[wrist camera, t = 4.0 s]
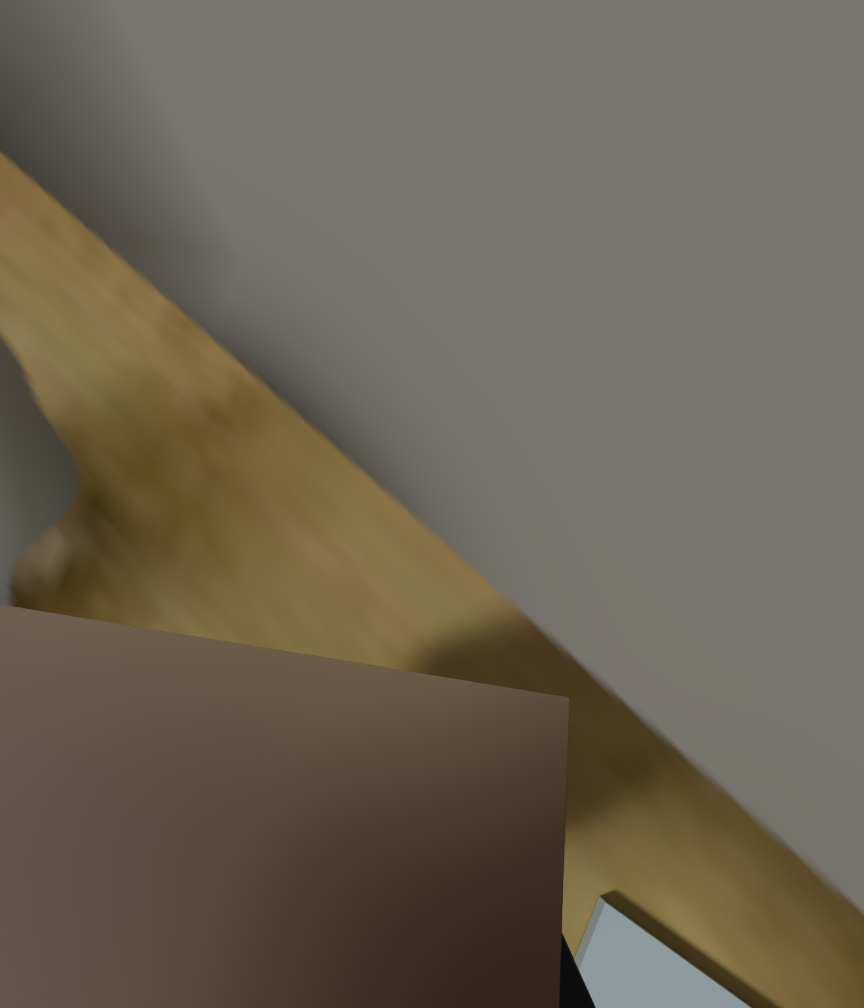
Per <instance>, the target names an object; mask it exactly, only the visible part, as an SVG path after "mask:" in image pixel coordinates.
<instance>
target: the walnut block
mask: <svg viewBox="0 0 864 1008" xmlns="http://www.w3.org/2000/svg"><path fill="white" fill-rule="evenodd" d="M569 700H570V697H564V696H558V695H551V694H545V693H539V692H533V691H527V690H521V689H515V688H509V687H502V686H496V685H490V684H484V683H478V682H472V681H466V680H459V679H453V678H447V677H441V676H435V675H429V674H423V673H416V672H410V671H404V670H398V669H392V668H386V667H380V666H374V665H367V664H361V663H355V662H349V661H343V660H337V659H331V658H324V657H318V656H312V655H306V654H300V653H294V652H288V651H282V650H275V649H269V648H263V647H257V646H251V645H245V644H239V643H232V642H226V641H220V640H214V639H208V638H202V637H196V636H189V635H183V634H177V633H171V632H165V631H159V630H153V629H147V628H140V627H134V626H128V625H122V624H116V623H110V622H104V621H97V620H91V619H85V618H79V617H73V616H67V615H61V614H55V613H48V612H42V611H36V610H30V609H24V608H18V607H12V606H5V605H0V1008H559V991H560V962H561V933H562V904H563V874H564V845H565V816H566V787H567V758H568V729H569Z"/></svg>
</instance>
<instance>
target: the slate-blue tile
mask: <svg viewBox="0 0 864 1008" xmlns="http://www.w3.org/2000/svg"><path fill="white" fill-rule="evenodd" d="M574 960H575V962H576V965H577V967H578V969H579V971H580V974H581V976H582V978H583V980H584V982H585V985H586V987H587V989H588V991H589V993H590V996H591V998H592V1000H593V1002H594V1005H595V1007H596V1008H753V1007H752V1006H750V1005H749V1004H747V1003H746V1002H745V1001H743V1000H742V999H740V998H739V997H738V996H736V995H735V994H734V993H732V992H731V991H729V990H728V989H727V988H725V987H724V986H723V985H721V984H720V983H718V982H717V981H716V980H714V979H713V978H711V977H710V976H709V975H707V974H706V973H705V972H703V971H702V970H700V969H699V968H698V967H696V966H695V965H694V964H692V963H691V962H689V961H688V960H687V959H685V958H684V957H682V956H681V955H680V954H678V953H677V952H676V951H674V950H673V949H671V948H670V947H669V946H667V945H666V944H665V943H663V942H662V941H660V940H659V939H658V938H656V937H655V936H654V935H652V934H651V933H649V932H648V931H647V930H645V929H644V928H642V927H641V926H640V925H638V924H637V923H636V922H634V921H633V920H631V919H630V918H629V917H627V916H626V915H625V914H623V913H622V912H620V911H619V910H618V909H616V908H615V907H613V906H612V905H611V904H609V903H608V902H607V901H605V900H604V899H602V898H601V897H600V896H599V899H598V901H597V904H596V906H595V909H594V911H593V914H592V916H591V919H590V921H589V924H588V926H587V929H586V931H585V934H584V936H583V939H582V941H581V944H580V946H579V949H578V951H577V954H576V956H575V959H574Z"/></svg>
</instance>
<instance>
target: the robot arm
mask: <svg viewBox="0 0 864 1008" xmlns="http://www.w3.org/2000/svg"><path fill="white" fill-rule="evenodd" d="M559 1008H596V1007H595V1005H594V1002H593V1000H592V998H591V996H590V993H589V991H588V989H587V987H586V985H585V982H584V980H583V978H582V976H581V974H580V971H579V969H578V967H577V965H576V962H575V960H574V958H573V956H572V954H571V951H570V949H569V947H568V945H567V943H566V940H565V938H564V936H563V934H562V933H561V962H560V991H559Z"/></svg>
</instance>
